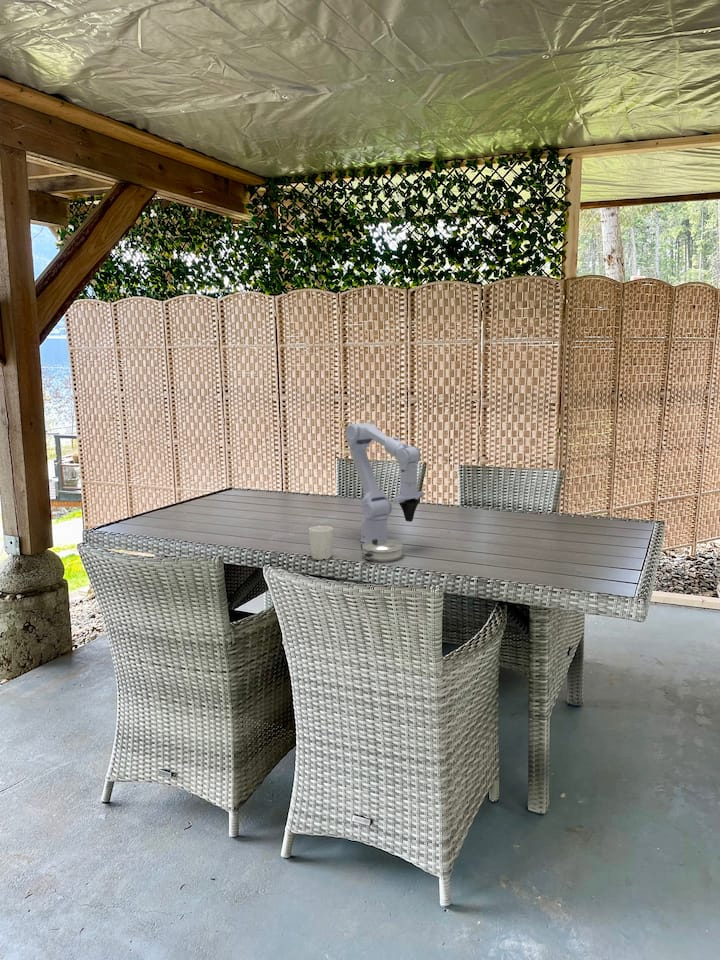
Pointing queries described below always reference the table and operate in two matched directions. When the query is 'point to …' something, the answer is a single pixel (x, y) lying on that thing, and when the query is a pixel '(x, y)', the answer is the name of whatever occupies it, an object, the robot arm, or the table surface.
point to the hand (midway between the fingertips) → (409, 521)
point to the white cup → (321, 542)
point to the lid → (382, 546)
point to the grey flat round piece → (382, 556)
